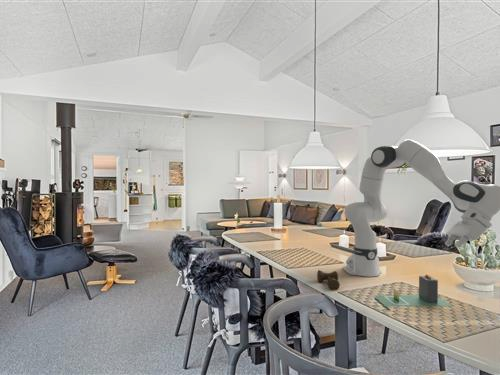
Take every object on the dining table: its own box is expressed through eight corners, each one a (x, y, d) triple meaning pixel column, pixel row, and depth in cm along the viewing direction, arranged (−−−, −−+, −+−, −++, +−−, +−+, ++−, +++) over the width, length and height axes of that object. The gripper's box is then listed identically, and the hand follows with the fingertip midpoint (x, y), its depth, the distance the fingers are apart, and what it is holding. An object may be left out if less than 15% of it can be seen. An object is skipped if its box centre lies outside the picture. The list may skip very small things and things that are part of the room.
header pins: (393, 298, 140) (393, 289, 140) (395, 298, 140) (395, 289, 140) (397, 301, 137) (397, 292, 137) (399, 301, 137) (399, 291, 137)
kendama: (323, 291, 157) (315, 278, 177) (344, 292, 157) (333, 278, 177) (324, 278, 156) (315, 266, 176) (345, 279, 156) (334, 267, 176)
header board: (374, 298, 145) (374, 295, 145) (434, 298, 145) (434, 294, 145) (387, 310, 132) (387, 306, 132) (453, 309, 132) (453, 305, 132)
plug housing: (418, 297, 142) (419, 273, 142) (428, 297, 142) (428, 273, 142) (427, 303, 135) (427, 277, 135) (437, 302, 136) (437, 277, 135)
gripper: (456, 215, 149) (435, 239, 150) (479, 214, 129) (455, 241, 129) (468, 225, 148) (447, 249, 148) (494, 225, 128) (470, 253, 128)
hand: (451, 245), depth 139 cm, fingers open, 8 cm apart
